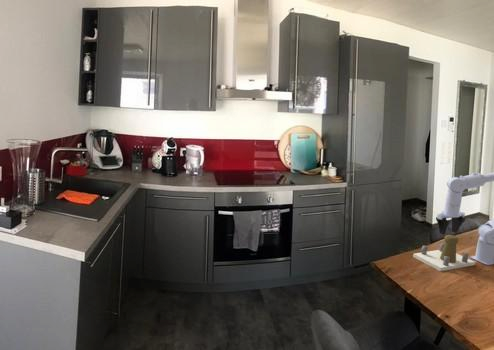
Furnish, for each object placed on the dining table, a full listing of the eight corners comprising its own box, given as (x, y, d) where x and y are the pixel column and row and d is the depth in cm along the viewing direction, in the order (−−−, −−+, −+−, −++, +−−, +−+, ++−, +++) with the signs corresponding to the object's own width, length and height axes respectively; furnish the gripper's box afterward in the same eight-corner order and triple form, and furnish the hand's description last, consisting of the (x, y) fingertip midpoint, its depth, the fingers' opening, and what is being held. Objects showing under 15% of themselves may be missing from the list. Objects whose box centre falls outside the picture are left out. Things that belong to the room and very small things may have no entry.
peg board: (445, 251, 155) (447, 241, 154) (474, 265, 142) (476, 254, 141) (413, 256, 148) (414, 246, 147) (440, 271, 135) (442, 259, 134)
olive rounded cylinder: (458, 263, 139) (463, 239, 137) (443, 262, 140) (447, 237, 138) (451, 257, 145) (456, 233, 143) (437, 256, 146) (441, 232, 144)
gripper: (456, 200, 153) (451, 228, 156) (433, 202, 148) (428, 231, 151) (471, 205, 147) (465, 233, 150) (447, 207, 142) (442, 236, 145)
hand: (448, 232), depth 150 cm, fingers open, 7 cm apart
